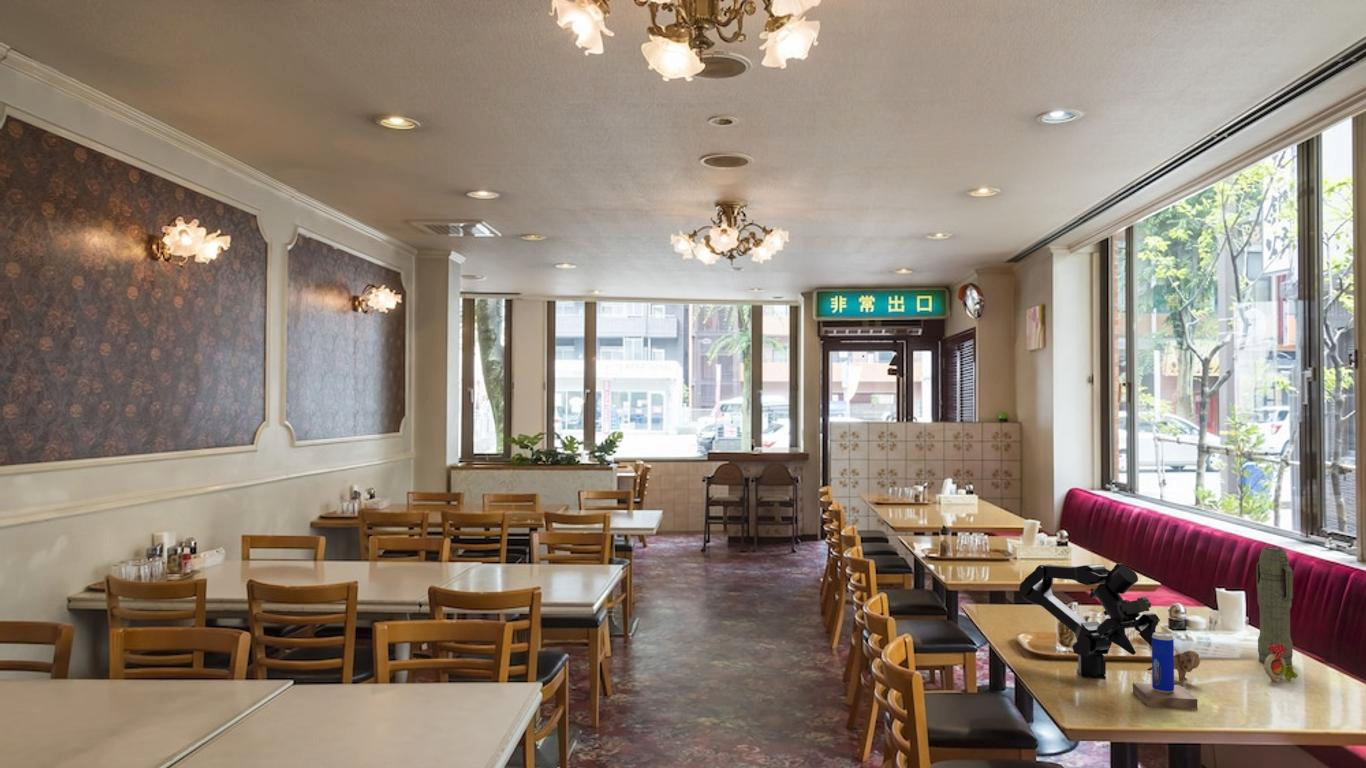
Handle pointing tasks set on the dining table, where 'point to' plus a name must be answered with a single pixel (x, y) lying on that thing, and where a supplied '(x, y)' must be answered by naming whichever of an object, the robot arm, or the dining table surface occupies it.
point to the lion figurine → (1185, 663)
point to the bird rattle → (1278, 664)
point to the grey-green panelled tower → (1274, 601)
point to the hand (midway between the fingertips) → (1146, 652)
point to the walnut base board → (1164, 697)
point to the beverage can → (1163, 662)
